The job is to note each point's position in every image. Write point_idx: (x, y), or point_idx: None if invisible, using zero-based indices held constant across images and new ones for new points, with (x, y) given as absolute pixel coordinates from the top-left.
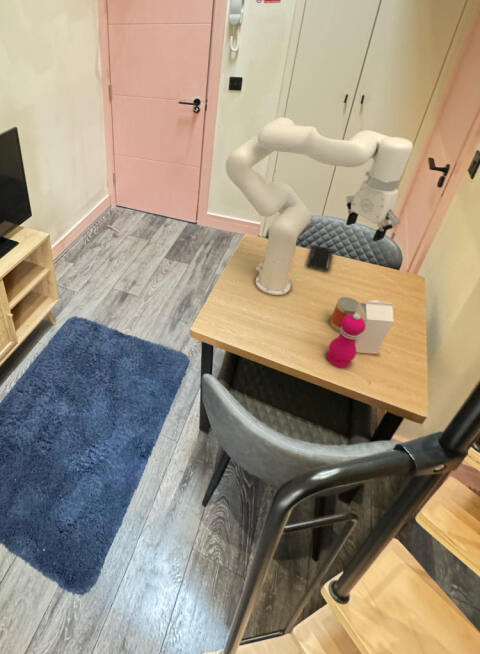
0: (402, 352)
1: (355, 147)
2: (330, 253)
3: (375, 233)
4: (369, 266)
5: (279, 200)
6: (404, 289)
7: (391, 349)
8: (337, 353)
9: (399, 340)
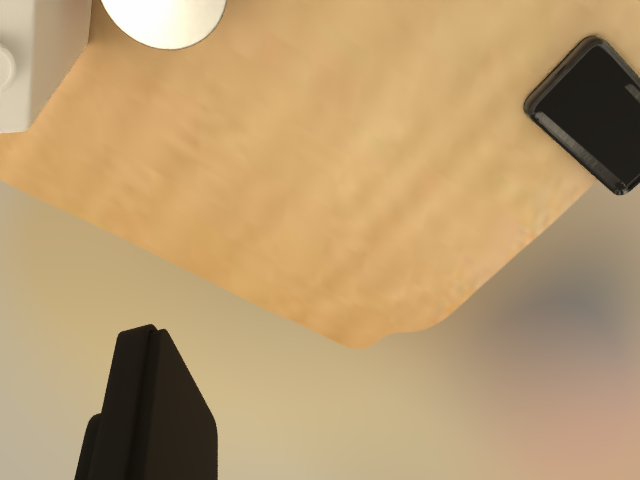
0: None
1: None
2: (609, 179)
3: (138, 448)
4: (484, 273)
5: None
6: (342, 311)
7: None
8: None
9: (77, 157)
